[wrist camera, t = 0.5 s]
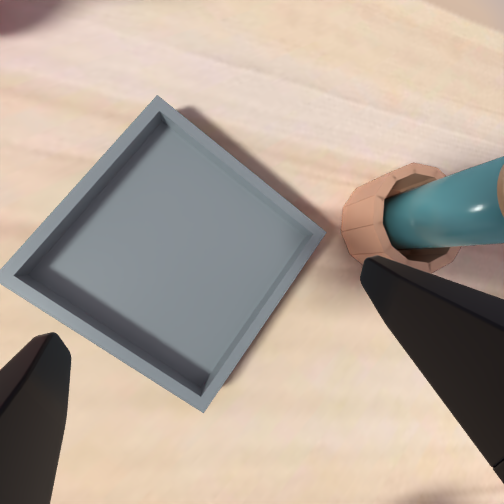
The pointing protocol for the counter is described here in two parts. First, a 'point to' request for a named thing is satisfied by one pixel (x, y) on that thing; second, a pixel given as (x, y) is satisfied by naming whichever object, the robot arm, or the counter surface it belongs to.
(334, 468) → the counter surface
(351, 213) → the terracotta cup
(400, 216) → the spice jar
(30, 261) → the tray
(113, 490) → the counter surface
